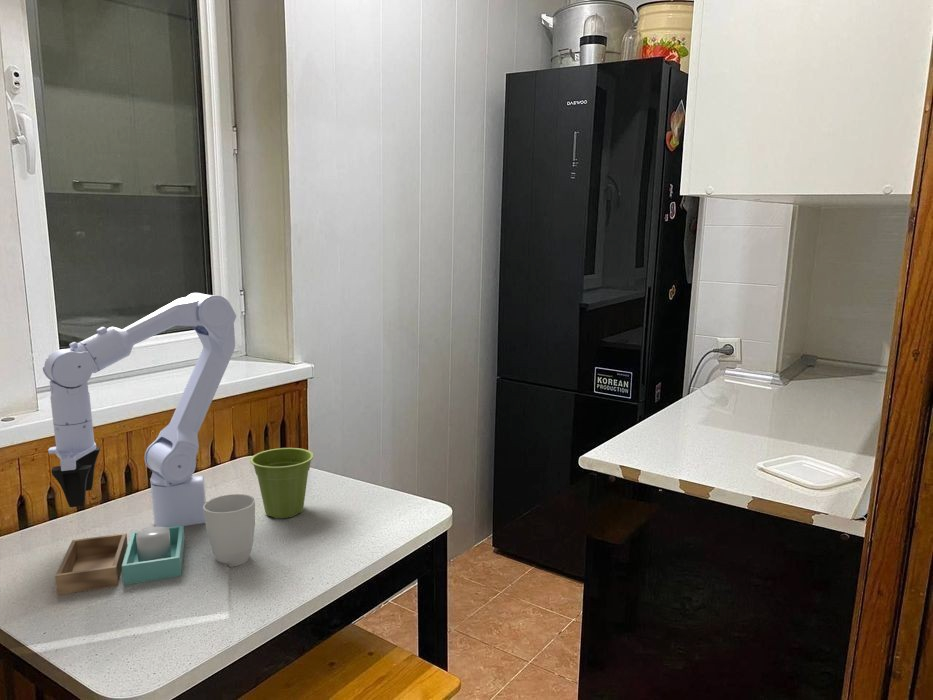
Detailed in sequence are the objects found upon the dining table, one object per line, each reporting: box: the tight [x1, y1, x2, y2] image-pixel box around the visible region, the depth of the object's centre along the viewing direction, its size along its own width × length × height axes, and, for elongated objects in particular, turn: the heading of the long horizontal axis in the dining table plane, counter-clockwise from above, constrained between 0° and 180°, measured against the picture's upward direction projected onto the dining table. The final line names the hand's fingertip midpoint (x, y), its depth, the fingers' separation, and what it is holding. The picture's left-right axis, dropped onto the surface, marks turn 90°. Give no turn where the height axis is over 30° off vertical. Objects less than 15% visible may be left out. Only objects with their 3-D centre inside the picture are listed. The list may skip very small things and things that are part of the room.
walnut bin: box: [54, 532, 129, 596], centre depth 113 cm, size 8×13×4 cm, turn 19°
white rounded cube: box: [136, 526, 171, 562], centre depth 115 cm, size 5×5×5 cm
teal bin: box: [121, 525, 186, 586], centre depth 116 cm, size 8×13×4 cm, turn 19°
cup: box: [203, 493, 256, 568], centre depth 117 cm, size 8×8×10 cm
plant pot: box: [249, 447, 314, 519], centre depth 137 cm, size 12×12×11 cm
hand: (81, 497), depth 121 cm, fingers open, 7 cm apart
